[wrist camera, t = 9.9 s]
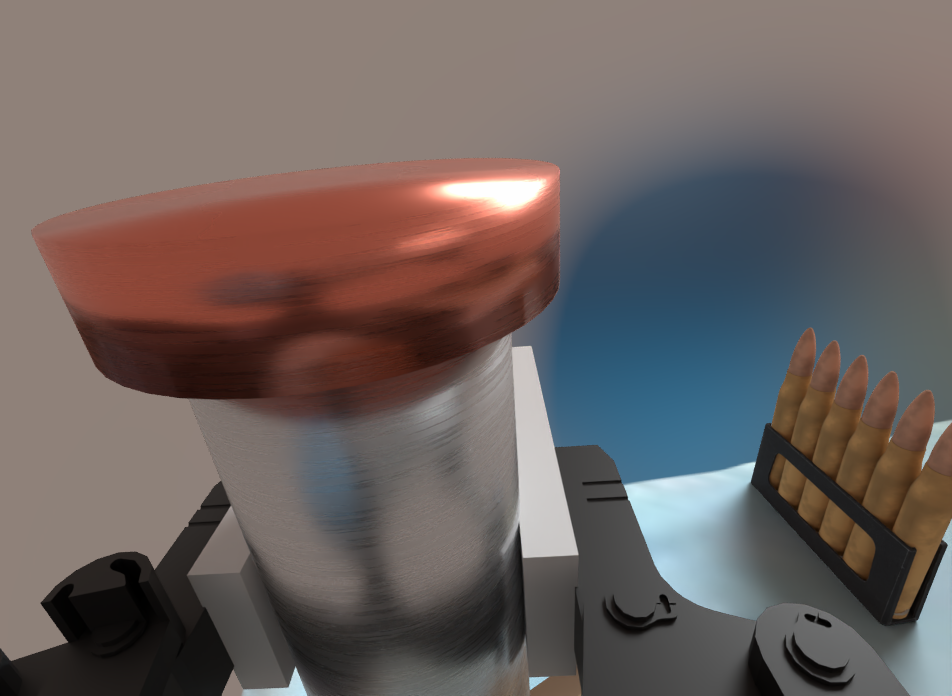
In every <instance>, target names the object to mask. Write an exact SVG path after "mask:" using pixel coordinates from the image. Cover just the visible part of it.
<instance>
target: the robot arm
mask: <svg viewBox="0 0 952 696" xmlns="http://www.w3.org/2000/svg"><path fill="white" fill-rule="evenodd" d="M512 359H513V379H514V398H515V417H516V436H517V456H518V475H519V494H520V517H519V527H520V545H521V564H522V582H523V601H524V619H525V637H526V648H527V659H528V671H529V677H548V676H572V675H576V664H577V669H578V675H579V680H580V686H581V696H910V695H909V694H908V692H907V691H906V690H905V689H904V687H903V686H902V685H901V683H900V682H899V681H898V680H897V678H896V677H895V676H894V675H893V673H892V672H891V671H890V669H889V668H888V667H887V666H886V664H885V663H884V662H883V660H882V659H881V658H880V657H879V655H878V654H877V653H876V652H875V650H874V649H873V648H872V647H871V646H870V645H869V644H868V643H867V642H866V641H865V640H864V639H863V638H862V637H861V636H860V635H859V634H858V633H857V632H856V631H855V630H854V629H853V628H852V627H850V626H849V625H847V624H846V623H844V622H842V621H841V620H839V619H838V618H836V617H835V616H833V615H831V614H830V613H827V612H825V611H822V610H819V609H817V608H814V607H811V606H808V605H806V604H794V603H781V604H778V605H775V606H771V607H768V608H767V609H766V610H765V611H764V612H763V613H762V614H761V615H760V617H759V618H758V619H757V621H753V620H749V619H745V618H741V617H737V616H733V615H729V614H725V613H721V612H717V611H713V610H710V609H707V608H704V607H702V606H699V605H696V604H695V603H693V602H691V601H689V600H687V599H686V598H684V597H682V596H681V595H680V594H678V593H677V592H676V591H675V590H673V588H672V587H671V586H670V585H669V584H668V583H667V582H666V581H665V580H664V579H663V578H662V577H661V576H660V574H659V572H658V570H657V568H656V567H655V565H654V562H653V560H652V557H651V555H650V552H649V550H648V547H647V544H646V542H645V539H644V537H643V534H642V532H641V529H640V527H639V524H638V521H637V519H636V516H635V514H634V511H633V509H632V506H631V504H630V501H629V500H628V496H627V493H626V491H625V488H624V486H623V484H622V482H621V478H620V475H619V473H618V470H617V468H616V465H615V463H614V460H612V459H611V458H610V457H609V456H608V455H607V454H606V453H605V452H604V451H603V450H602V449H601V448H600V447H599V446H598V445H587V446H571V447H554V444H553V440H552V436H551V431H550V426H549V422H548V418H547V413H546V409H545V404H544V400H543V396H542V391H541V387H540V383H539V378H538V374H537V369H536V365H535V361H534V357H533V351H532V347H531V346H525V347H512ZM41 605H42V606H43V608H44V609H45V610H46V611H47V613H48V615H49V616H50V617H51V619H52V620H53V622H54V623H55V624H56V626H57V627H58V628H59V630H60V631H61V633H62V634H63V636H64V637H65V638H66V640H67V641H68V643H65V644H62V645H59V646H56V647H53V648H50V649H47V650H44V651H41V652H38V653H35V654H32V655H28V656H26V657H22V658H19V659H16V660H14V661H10V660H9V658H8V657H7V656H6V655H5V654H4V652H3V651H2V650H1V649H0V696H222V693H223V690H224V688H225V686H226V683H227V681H228V679H229V677H230V674H231V672H232V670H233V669H234V671H235V673H236V676H237V678H238V680H239V682H240V684H241V686H242V688H243V689H263V688H287V687H289V684H290V681H291V678H292V675H293V672H294V669H295V663H294V661H293V658H292V656H291V653H290V651H289V648H288V646H287V643H286V641H285V638H284V636H283V633H282V631H281V628H280V626H279V623H278V621H277V618H276V616H275V613H274V611H273V608H272V606H271V604H270V601H269V599H268V596H267V594H266V591H265V589H264V586H263V584H262V581H261V579H260V576H259V574H258V571H257V569H256V566H255V564H254V561H253V559H252V556H251V554H250V551H249V549H248V546H247V544H246V541H245V539H244V536H243V534H242V531H241V529H240V526H239V524H238V521H237V519H236V516H235V514H234V511H233V509H232V506H231V504H230V501H229V499H228V496H227V494H226V491H225V489H224V486H223V484H222V481H220V482H219V483H218V484H217V485H215V486H214V488H213V489H212V490H211V492H210V493H209V495H208V496H207V497H206V499H205V500H204V502H203V503H202V505H201V509H200V510H197V512H196V513H195V514H194V516H193V517H192V519H191V520H190V521H189V526H188V527H185V528H184V530H183V531H182V533H181V534H180V535H179V537H178V538H177V540H176V541H175V542H174V544H173V545H172V547H171V548H170V549H169V551H168V552H167V554H166V555H165V556H164V558H163V559H162V561H161V562H160V564H159V565H158V566H157V568H156V569H155V570H154V568H153V566H152V564H151V562H150V561H149V559H148V557H147V556H145V555H143V554H140V553H138V552H120V553H116V554H113V555H110V556H106V557H103V558H100V559H97V560H95V561H93V562H91V563H90V564H88V565H86V566H84V567H82V568H80V569H78V570H76V571H75V572H73V573H72V574H71V575H70V576H68V577H67V578H66V579H64V580H63V581H62V582H60V583H59V584H58V585H57V586H55V588H54V589H53V590H52V591H51V592H50V593H49V594H48V595H47V596H46V598H45V599H44V600H43V601H42V602H41Z"/></svg>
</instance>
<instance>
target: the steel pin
mask: <svg viewBox="0 0 952 696" xmlns="http://www.w3.org/2000/svg"><path fill="white" fill-rule="evenodd" d="M559 170H560V169H559V168H558V166H557V165H554V164H552V163H548V162H543V161H537V160H528V159H510V158H464V159H440V160H439V159H437V160H419V161H404V162H390V163H378V164H365V165H355V166H345V167H335V168H324V169H315V170H307V171H298V172H289V173H281V174H273V175H265V176H258V177H250V178H243V179H236V180H230V181H223V182H216V183H209V184H203V185H197V186H191V187H185V188H179V189H173V190H168V191H163V192H157V193H151V194H146V195H141V196H136V197H131V198H126V199H121V200H117V201H112V202H108V203H104V204H99V205H95V206H91V207H88V208H83V209H80V210H76V211H73V212H70V213H66V214H63V215H60V216H57V217H54V218H51V219H49V220H47V221H44V222H42V223H40V224H38V225H37V226H35V227H34V228H33V229H32V230H31V231H32V236H33V238H34V240H35V242H36V244H37V246H38V249H39V250H40V253H41V255H42V257H43V259H44V261H45V263H46V265H47V267H48V269H49V271H50V273H51V275H52V277H53V280H54V281H55V284H56V285H57V288H58V290H59V292H60V294H61V296H62V298H63V300H64V302H65V304H66V306H67V308H68V310H69V313H70V314H71V317H72V319H73V321H74V323H75V325H76V327H77V329H78V331H79V333H80V335H81V337H82V340H83V341H84V344H85V345H86V348H87V350H88V352H89V354H90V356H91V358H92V360H93V362H94V364H95V366H96V368H97V369H98V370H99V371H100V372H101V373H102V374H103V375H104V376H105V377H106V378H108V379H110V380H112V381H114V382H116V383H118V384H120V385H122V386H124V387H127V388H131V389H134V390H138V391H141V392H145V393H149V394H155V395H162V396H169V397H176V398H188V399H189V401H190V404H191V406H192V409H193V412H194V414H195V417H196V419H197V422H198V424H199V426H200V429H201V431H202V434H203V437H204V439H205V442H206V444H207V446H208V449H209V451H210V454H211V456H212V459H213V461H214V464H215V466H216V469H217V471H218V474H219V476H220V479H221V481H222V484H223V486H224V489H225V491H226V494H227V496H228V499H229V501H230V504H231V506H232V509H233V511H234V514H235V516H236V519H237V521H238V524H239V526H240V529H241V531H242V534H243V536H244V539H245V541H246V544H247V546H248V549H249V551H250V554H251V556H252V559H253V561H254V564H255V566H256V569H257V571H258V574H259V576H260V579H261V581H262V584H263V586H264V589H265V591H266V594H267V596H268V599H269V601H270V604H271V606H272V608H273V611H274V613H275V616H276V618H277V621H278V623H279V626H280V628H281V631H282V633H283V636H284V638H285V641H286V643H287V646H288V648H289V651H290V653H291V656H292V658H293V661H294V663H295V666H296V668H297V671H298V673H299V676H300V678H301V681H302V683H303V686H304V688H305V691H306V693H307V696H530V687H529V671H528V659H527V648H526V637H525V619H524V601H523V582H522V564H521V545H520V527H519V517H520V494H519V475H518V456H517V436H516V417H515V398H514V379H513V359H512V341H511V333H512V332H513V331H515V330H517V329H519V328H520V327H522V326H524V325H525V324H527V323H528V322H529V321H531V320H532V319H533V318H535V317H536V316H537V315H538V314H540V313H541V312H542V311H543V310H544V309H545V308H546V307H547V306H548V305H549V304H550V302H551V301H552V300H553V298H554V296H555V295H556V293H557V291H558V289H559V282H560V181H559V180H560V171H559Z"/></svg>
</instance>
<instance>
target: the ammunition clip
mask: <svg viewBox="0 0 952 696" xmlns="http://www.w3.org/2000/svg"><path fill="white" fill-rule="evenodd" d="M815 353H816V341H815V334H814V331H813V329H812V328H808V329H807V330H806V331H805V332H804V334H803V335H802V336H801V338H800V339H799V341H798V343H797V345H796V347H795V350H794V352H793V355H792V358H791V361H790V366H789V369H788V371H787V374H786V378H785V381H784V382H783V384H782V386H781V388H780V391H779V395H778V400H777V403H776V408H775V412H774V416H773V421H772V425H771V423H767V424H766V425H765V429H764V433H763V437H762V441H761V445H760V448H759V453H758V456H757V460H756V464H755V468H754V472H753V475H752V479H751V483H752V484H753V485H754V486H755V487H756V489H757V490H758V491H759V492H760V493H761V494H762V495H763V496H764V497H765V498H766V499H767V501H768V502H769V503H770V504H771V505H772V506H773V507H774V508H775V509H776V510H777V511H778V513H779V514H780V515H781V516H782V517H783V518H784V519H785V520H786V521H787V522H788V523H789V525H790V526H791V527H792V528H793V529H794V530H795V531H796V532H797V533H798V534H799V535H800V537H801V538H802V539H803V540H804V541H805V542H806V543H807V544H808V545H809V546H810V547H811V549H812V550H813V551H814V552H815V553H816V554H817V555H818V556H819V557H820V558H821V559H822V561H823V562H824V563H825V564H826V565H827V566H828V567H829V568H830V569H831V570H832V571H833V573H834V574H835V575H836V576H837V577H838V578H839V579H840V580H841V581H842V582H843V583H844V585H845V586H846V587H847V588H848V589H849V590H850V591H851V592H852V593H853V594H854V595H855V597H856V598H857V599H858V600H859V601H860V602H861V603H862V604H863V605H864V606H865V607H866V609H867V610H868V611H869V612H870V613H871V614H872V615H873V616H874V617H875V618H876V619H877V621H878V622H879V623H880V624H884V625H892V624H898V623H904V622H910V621H916V620H918V619H919V616H920V613H921V611H922V608H923V606H924V603H925V601H926V598H927V595H928V593H929V590H930V588H931V585H932V583H933V580H934V577H935V575H936V572H937V570H938V567H939V565H940V562H941V560H942V558H943V555H944V553H945V551H946V548H947V546H948V545H947V543H946V542H944V541H943V540H942V538H943V536H944V534H945V532H946V530H947V527H948V525H949V523H950V521H951V519H952V423H951V424H950V425H949V426H948V427H947V429H946V430H945V431H944V432H943V434H942V435H941V437H940V438H939V440H938V441H937V443H936V445H935V446H934V448H933V450H932V452H931V454H930V457H929V459H928V460H927V462H926V463H925V465H924V467H923V469H922V461H923V458H924V454H925V451H926V446H927V443H928V440H929V438H930V435H931V431H932V427H933V422H934V413H935V409H934V408H935V407H934V406H935V404H934V398H933V394H932V392H931V391H930V390H925V391H924V392H922V393H921V394H920V395H918V396H917V397H916V398H915V399H914V401H913V402H912V403H911V404H910V405H909V407H908V408H907V410H906V411H905V412H904V414H903V416H902V417H901V419H900V421H899V423H898V425H897V427H896V430H895V432H894V435H893V437H892V438H891V440H890V442H889V437H890V434H891V430H892V424H893V421H894V418H895V415H896V411H897V406H898V399H899V383H898V377H897V374H896V373H895V372H893V371H891V372H889V373H888V374H887V375H886V376H885V377H884V378H883V379H882V380H881V381H880V382H879V384H878V385H877V386H876V388H875V389H874V391H873V392H872V394H871V396H870V398H869V400H868V402H867V404H866V406H865V409H864V412H863V415H862V417H861V412H862V409H863V403H864V399H865V395H866V390H867V384H868V365H867V361H866V358H865V356H864V355H860V356H859V357H858V358H857V359H856V360H854V362H853V363H852V364H851V365H850V367H849V368H848V370H847V371H846V373H845V375H844V377H843V379H842V381H841V383H840V385H839V387H838V391H837V394H836V397H835V393H836V386H837V382H838V378H839V371H840V349H839V345H838V342H837V341H832V342H831V343H830V344H829V345H828V346H827V347H826V348H825V350H824V352H823V353H822V355H821V356H820V358H819V360H818V362H817V364H816V367H815V369H814V372H813V375H812V371H813V367H814V362H815ZM834 397H835V399H834ZM860 417H861V418H860ZM921 469H922V471H921Z"/></svg>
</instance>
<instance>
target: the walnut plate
mask: <svg viewBox="0 0 952 696" xmlns="http://www.w3.org/2000/svg"><path fill="white" fill-rule="evenodd" d="M530 696H581V686H580V680H579V675H578V669H577V664H576V675H572V676H550V677H549V678H547V679H546V680H544V681H543V682H542V683H540V684H539V685H537V686H536V687H534V688H533V689H532V690H530Z"/></svg>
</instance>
